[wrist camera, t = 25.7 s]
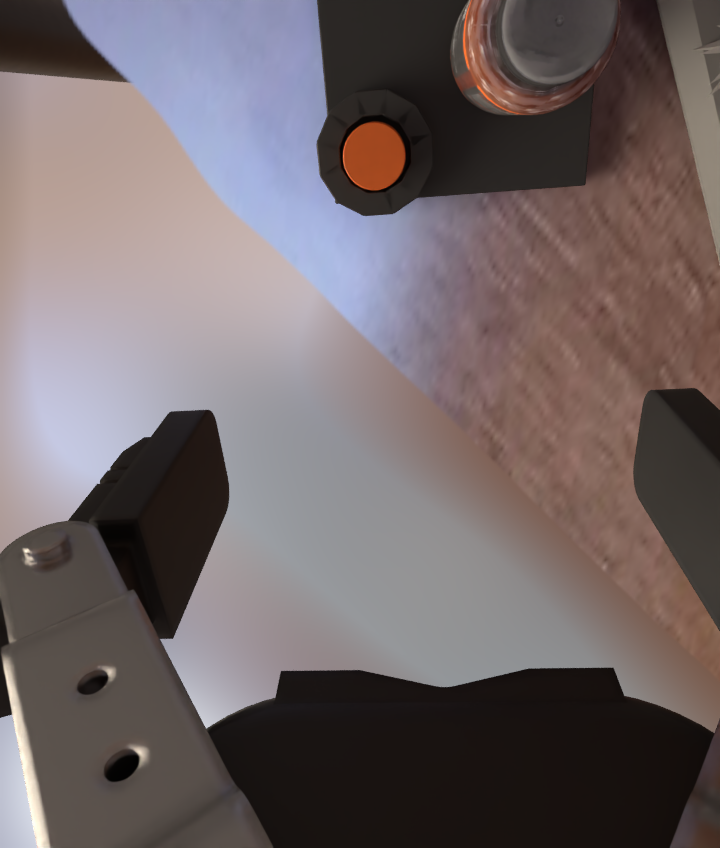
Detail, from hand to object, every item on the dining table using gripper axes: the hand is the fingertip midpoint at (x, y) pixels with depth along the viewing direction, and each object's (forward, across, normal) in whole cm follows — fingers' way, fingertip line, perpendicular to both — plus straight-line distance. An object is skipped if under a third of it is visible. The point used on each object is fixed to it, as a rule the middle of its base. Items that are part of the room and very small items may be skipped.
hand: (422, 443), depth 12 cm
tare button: (+25, +1, -3) cm, 26 cm away
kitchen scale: (+28, -3, -7) cm, 29 cm away
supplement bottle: (+27, -6, -8) cm, 29 cm away
